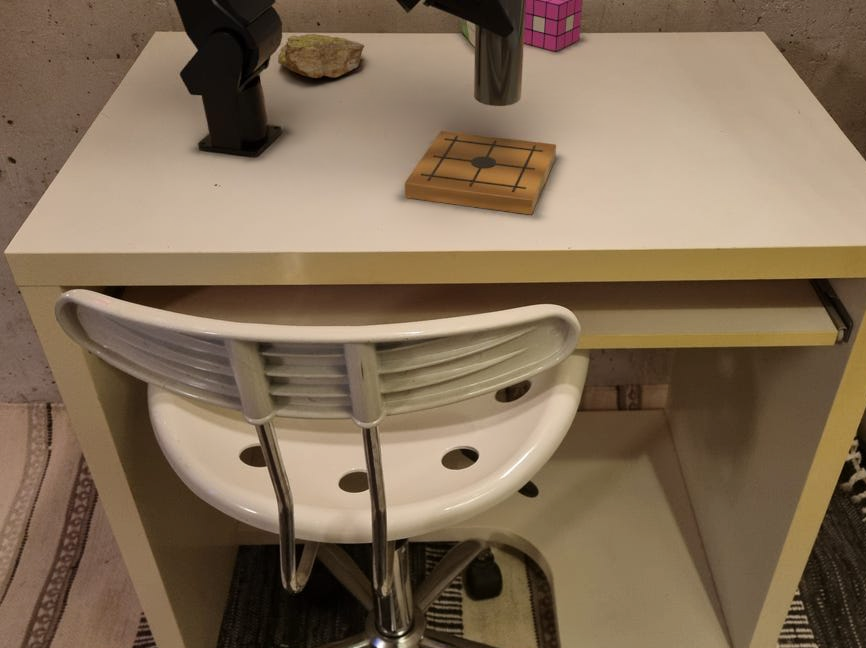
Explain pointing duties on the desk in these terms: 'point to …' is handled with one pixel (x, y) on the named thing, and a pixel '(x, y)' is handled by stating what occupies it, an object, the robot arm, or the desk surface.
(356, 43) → the rock
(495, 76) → the black round pillar
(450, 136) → the game board
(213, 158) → the desk surface
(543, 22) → the puzzle toy
